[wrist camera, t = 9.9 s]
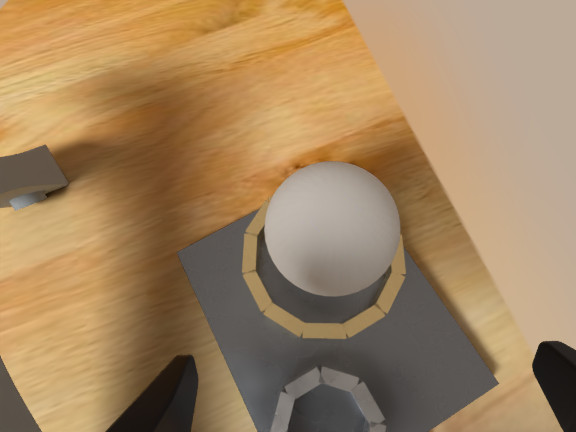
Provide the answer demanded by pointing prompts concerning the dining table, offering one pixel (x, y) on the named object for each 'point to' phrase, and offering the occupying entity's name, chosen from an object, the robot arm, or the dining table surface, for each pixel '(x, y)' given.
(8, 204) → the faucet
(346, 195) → the light bulb
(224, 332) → the plate
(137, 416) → the robot arm
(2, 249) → the dining table surface
